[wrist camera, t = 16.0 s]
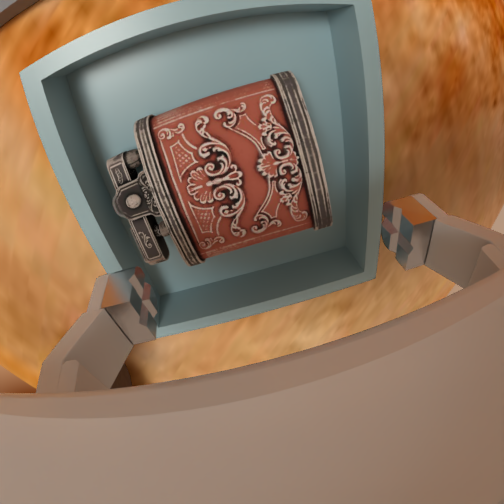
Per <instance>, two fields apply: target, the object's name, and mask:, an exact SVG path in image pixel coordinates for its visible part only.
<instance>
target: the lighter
mask: <svg viewBox="0 0 504 504" xmlns="http://www.w3.org/2000/svg"><path fill="white" fill-rule="evenodd" d="M134 137H135V141H136V145H137V148H138V149H132V150H129V151H125V152H122V153H120V154H118V155H116V156H114V157H112V158H110V159H108V160H107V162H106V164H107V168H108V171H109V174H110V176H111V179H112V182H113V184H114V187H115V189H116V194H115V196H114V197H113V200H112V205H113V207H114V209H115V212H116V213H117V214H118V215H119V216H121V217H124V218H127V219H128V220H129V222H130V225H131V228H130V231H131V233H132V235H133V237H134V240H135V242H136V244H137V246H138V248H139V250H140V252H141V255H142V257H143V259H144V261H145V262H146V263H149V264H150V265H154V264H157V263H160V262H163V261H167V260H168V259H169V256H170V252H169V248H168V246H167V243H166V241H165V239H164V237H166V236H169V235H170V236H171V238H172V240H173V242H174V244H175V246H176V248H177V249H178V251H179V253H180V255H181V257H182V259H183V261H184V262H185V264H186V265H188V266H189V267H190V266H194V265H198V264H201V263H205V261H206V258H209V257H213V256H216V255H220V254H223V253H227V252H230V251H233V250H237V249H240V248H244V247H247V246H251V245H254V244H257V243H261V242H264V241H268V240H271V239H275V238H278V237H282V236H285V235H288V234H292V233H295V232H299V231H302V230H306V229H309V228H313V229H314V230H319V229H322V228H325V227H329V226H332V223H333V219H332V211H331V205H330V199H329V193H328V187H327V182H326V178H325V173H324V168H323V164H322V159H321V155H320V151H319V147H318V144H317V140H316V137H315V133H314V130H313V126H312V123H311V119H310V116H309V113H308V110H307V107H306V104H305V101H304V98H303V96H302V93H301V90H300V87H299V84H298V82H297V80H296V78H295V76H294V74H293V73H292V72H291V71H284V72H280V73H276V74H271V75H270V79H266V80H262V81H258V82H254V83H250V84H247V85H243V86H240V87H236V88H233V89H229V90H226V91H223V92H220V93H217V94H214V95H211V96H208V97H205V98H202V99H199V100H196V101H193V102H190V103H188V104H185V105H182V106H180V107H177V108H174V109H172V110H169V111H167V112H164V113H162V114H159V115H157V116H154V115H152V114H151V115H148V116H146V117H144V118H141V119H139V120H137V121H135V123H134ZM140 164H142V165H143V169H144V170H143V171H141V172H140V173H139V174H138V173H137V170H136V167H138V166H139V165H140ZM160 216H162V218H163V221H161V222H160V223H159V224H158V222H157V220H156V218H155V217H160Z"/></svg>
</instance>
